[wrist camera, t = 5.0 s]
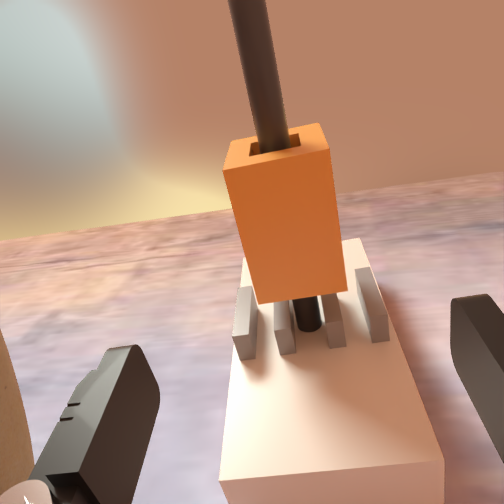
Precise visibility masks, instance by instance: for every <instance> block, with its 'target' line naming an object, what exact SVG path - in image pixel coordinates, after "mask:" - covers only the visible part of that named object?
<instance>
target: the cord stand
mask: <svg viewBox="0 0 504 504" xmlns="http://www.w3.org/2000/svg"><path fill="white" fill-rule="evenodd" d="M228 4H229V8H230V13H231V18H232V22H233V27H234V32H235V37H236V41H237V46H238V51H239V55H240V60H241V65H242V69H243V74H244V79H245V83H246V88H247V93H248V97H249V102H250V107H251V111H252V116H253V121H254V125H255V130H256V134H257V139H258V144H259V149H260V153H261V154H264V153H269V152H274V151H279V150H284V149H289V148H291V144H290V138H289V132H288V127H287V121H286V115H285V110H284V104H283V98H282V93H281V87H280V81H279V76H278V70H277V64H276V58H275V53H274V48H273V41H272V36H271V30H270V24H269V20H268V13H267V7H266V2H265V0H228ZM342 249H343V256H344V264H345V272H346V279H347V287H348V291H345V292H339V293H332V294H326V295H319V296H313V297H306V298H300V299H293V300H286V301H280V302H273V303H267V304H260V305H258V302H257V299H256V295H255V291H254V287H253V284H252V280H251V276H250V272H249V269H248V265H247V261H246V257H244V258H243V267H242V276H241V285H240V287H239V288H238V291H237V299H236V308H235V316H234V325H233V333H232V338H233V341H234V348H233V357H232V366H231V375H230V384H229V393H228V402H227V411H226V420H225V429H224V438H223V447H222V456H221V465H220V474H219V483H220V485H221V487H222V489H223V492H224V494H225V496H226V499H227V501H228V503H229V504H444V484H445V459H444V457H443V454H442V451H441V449H440V446H439V444H438V441H437V438H436V436H435V433H434V431H433V428H432V425H431V423H430V420H429V418H428V415H427V412H426V410H425V407H424V405H423V402H422V399H421V397H420V394H419V391H418V389H417V386H416V384H415V381H414V378H413V376H412V373H411V371H410V368H409V365H408V363H407V360H406V358H405V355H404V352H403V350H402V347H401V345H400V342H399V339H398V337H397V334H396V332H395V329H394V326H393V324H392V321H391V319H390V316H389V313H388V311H387V308H386V306H385V303H384V300H383V298H382V295H381V293H380V290H379V287H378V285H377V282H376V280H375V277H374V274H373V272H372V269H371V267H370V264H369V261H368V259H367V256H366V254H365V251H364V248H363V246H362V243H361V240H360V238H356V239H350V240H344V241H342Z"/></svg>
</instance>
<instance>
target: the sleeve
mask: <svg viewBox="0 0 504 504" xmlns="http://www.w3.org/2000/svg"><path fill="white" fill-rule="evenodd" d="M288 132H289V138H290V144H291V148H289V149H284V150H279V151H274V152H269V153H264V154H261V153H260V149H259V144H258V139H257V136H253V137H248V138H243V139H239V140H234V141H231V144H230V147H229V150H228V154H227V157H226V160H225V164H224V167H223V174H224V178H225V181H226V185H227V189H228V193H229V197H230V201H231V204H232V208H233V212H234V216H235V219H236V223H237V227H238V231H239V235H240V238H241V242H242V246H243V250H244V253H245V257H246V261H247V265H248V269H249V272H250V276H251V280H252V284H253V287H254V291H255V295H256V299H257V302H258V305H260V304H267V303H273V302H280V301H286V300H293V299H300V298H306V297H313V296H319V295H326V294H332V293H339V292H345V291H348V287H347V279H346V272H345V264H344V256H343V249H342V241H341V233H340V226H339V218H338V210H337V203H336V195H335V188H334V180H333V172H332V165H331V157H330V149H329V146H328V144H327V142H326V139H325V137H324V134H323V132H322V130H321V127H320V125H319V123H314V124H310V125H305V126H301V127H295V128H291V129H288Z"/></svg>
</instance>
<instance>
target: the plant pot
mask: <svg viewBox="0 0 504 504" xmlns="http://www.w3.org/2000/svg"><path fill="white" fill-rule="evenodd" d="M34 466H35V465H34V458H33V451H32V445H31V438H30V433H29V429H28V424H27V419H26V414H25V410H24V406H23V402H22V398H21V394H20V390H19V386H18V383H17V379H16V376H15V372H14V369H13V366H12V362H11V359H10V356H9V353H8V349H7V347H6V344H5V341H4V338H3V335H2V333H1V330H0V496H1V495H2V494H3V493H4V492H5V491H7V490H8V489H10V488H11V487H13V486H15V485H17V484H19V483H21V482H24V481H27V479H28V478H29V476H30V474H31V472H32V470H33V468H34Z"/></svg>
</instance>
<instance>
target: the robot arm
mask: <svg viewBox="0 0 504 504" xmlns="http://www.w3.org/2000/svg"><path fill="white" fill-rule="evenodd" d="M450 348H451V355H452V359H453V363H454V366H455V368H456V371H457V373H458V375H459V377H460V379H461V381H462V383H463V385H464V387H465V389H466V391H467V393H468V395H469V397H470V399H471V401H472V402H473V404H474V406H475V408H476V410H477V412H478V414H479V416H480V418H481V420H482V422H483V424H484V426H485V428H486V430H487V432H488V434H489V436H490V438H491V440H492V442H493V444H494V446H495V447H496V449H497V451H498V453H499V455H500V457H501V459H502V461H503V463H504V314H503V313H502V311H501V310H500V309H499V307H498V306H497V305H496V303H495V302H494V301H493V299H492V298H491V297H490V296H489V295H488V294H480V295H473V296H467V297H460V298H453V299H452V301H451V326H450ZM159 405H160V391H159V386H158V384H157V381H156V379H155V377H154V375H153V373H152V371H151V368H150V366H149V364H148V362H147V360H146V358H145V356H144V353H143V351H142V349H141V348H140V347H139V346H138V345H129V346H122V347H115V348H110V349H108V350H107V351H106V352H105V354H104V356H103V358H102V360H101V362H100V364H99V366H98V368H97V370H91V372H90V373H89V374H88V375H87V376H86V377H85V378H84V379H83V380H82V381H81V382H80V383H79V384H78V385H77V386H76V388H75V390H74V392H73V394H72V396H71V398H70V400H69V402H68V407H65V409H64V411H63V413H62V415H61V417H60V422H58V423H57V425H56V426H55V428H54V430H53V432H52V434H51V436H50V438H49V440H48V442H47V444H46V446H45V447H44V449H43V451H42V453H41V455H40V457H39V459H38V461H37V463H36V465H35V466H34V468H33V470H32V472H31V474H30V476H29V478H28V479H27V481H24V482H21V483H19V484H17V485H15V486H13V487H11V488H10V489H8V490H7V491H5V492H4V493H3V494H2V495H1V496H0V504H131V503H132V500H133V496H134V493H135V489H136V486H137V482H138V479H139V476H140V472H141V469H142V465H143V462H144V458H145V455H146V451H147V448H148V444H149V441H150V437H151V434H152V430H153V427H154V423H155V420H156V417H157V413H158V410H159Z"/></svg>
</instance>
